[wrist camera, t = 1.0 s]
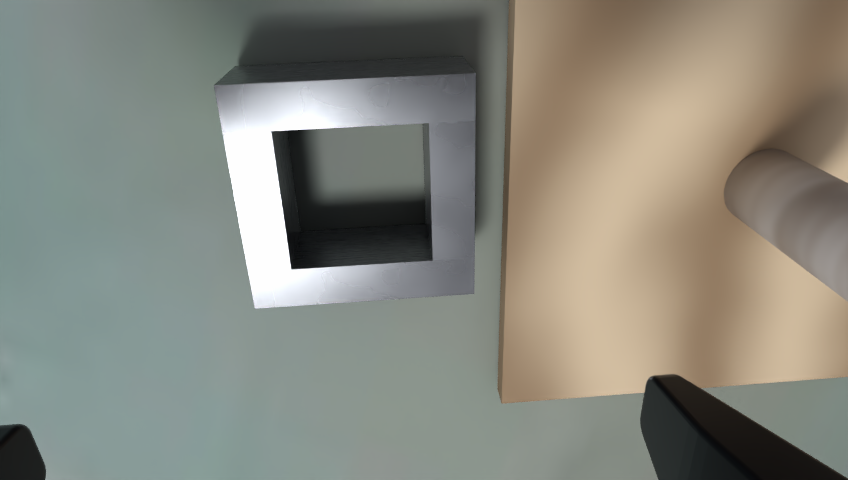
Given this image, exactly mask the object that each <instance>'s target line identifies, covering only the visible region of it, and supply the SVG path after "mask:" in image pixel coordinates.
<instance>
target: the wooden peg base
mask: <svg viewBox="0 0 848 480" xmlns="http://www.w3.org/2000/svg"><path fill="white" fill-rule="evenodd" d="M665 374H677V375H679V376H681V377H683V378H684V379H686V380H688V381H689V382H691V383H693V384H694V385H696V386H698V387H699V388H708V387H721V386H734V385H747V384H760V383H773V382H786V381H799V380H812V379H825V378H838V377H848V0H509V21H508V55H507V88H506V122H505V156H504V189H503V223H502V257H501V290H500V324H499V358H498V392H499V396H500V399H501V403H515V402H527V401H540V400H553V399H566V398H579V397H592V396H605V395H618V394H631V393H644V392H645V386H646V382H647V380H648V378H649V377H651V376H653V375H665Z"/></svg>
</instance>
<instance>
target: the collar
mask: <svg viewBox="0 0 848 480" xmlns="http://www.w3.org/2000/svg"><path fill="white" fill-rule="evenodd" d="M214 89H215V94H216V100H217V105H218V110H219V116H220V121H221V127H222V132H223V138H224V143H225V149H226V154H227V159H228V165H229V170H230V176H231V181H232V187H233V192H234V198H235V203H236V209H237V214H238V219H239V225H240V230H241V236H242V241H243V247H244V252H245V258H246V263H247V268H248V274H249V279H250V285H251V290H252V296H253V301H254V307H255V308H270V307H285V306H300V305H315V304H330V303H345V302H359V301H374V300H389V299H404V298H419V297H434V296H449V295H464V294H474V256H475V118H476V73H475V72H474V70H473V69H472V68H471V66H470V65H469V64H468V63H467V61H466V60H465V59H464V58H463V56H453V57H431V58H409V59H387V60H365V61H342V62H320V63H298V64H276V65H254V66H235V67H234V68H232V69H231V70H230V71H229V72H228V73H227V74H226V75H225V76H224V77H223V78H222V79H220V80H219V81H218V82H217V83H216V84H215V85H214ZM421 123H423V153H424V184H425V215H426V224H417V225H401V226H384V227H368V228H351V229H335V230H318V231H301V230H300V223H299V215H298V208H297V200H296V193H295V185H294V178H293V171H292V163H291V156H290V148H289V141H288V133H287V130H304V129H324V128H343V127H363V126H382V125H402V124H421Z"/></svg>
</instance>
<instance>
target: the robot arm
mask: <svg viewBox="0 0 848 480" xmlns="http://www.w3.org/2000/svg"><path fill="white" fill-rule="evenodd" d="M640 424H641V430H642V434H643V437H644V440H645V443H646V446H647V449H648V451H649V454H650V457H651V460H652V463H653V466H654V468H655V471H656V474H657V477H658V480H848V478H846V477H844V476H843V475H841V474H840V473H838V472H836V471H835V470H833V469H831V468H830V467H828V466H826V465H825V464H823V463H822V462H820V461H818V460H817V459H815V458H813V457H812V456H810V455H809V454H807V453H805V452H804V451H802V450H800V449H799V448H797V447H795V446H794V445H792V444H791V443H789V442H787V441H786V440H784V439H782V438H781V437H779V436H778V435H776V434H774V433H773V432H771V431H769V430H768V429H766V428H764V427H763V426H761V425H760V424H758V423H756V422H755V421H753V420H751V419H750V418H748V417H747V416H745V415H743V414H742V413H740V412H738V411H737V410H735V409H733V408H732V407H730V406H729V405H727V404H725V403H724V402H722V401H720V400H719V399H717V398H715V397H714V396H712V395H711V394H709V393H707V392H706V391H704V390H702V389H701V388H699V387H698V386H696V385H694V384H693V383H691V382H689V381H688V380H686V379H684V378H683V377H681V376H679V375H677V374H665V375H653V376H651V377H649V378H648V380H647V382H646V386H645V392H644V398H643V404H642V410H641V417H640ZM45 478H46V469H45V464H44V461H43V459H42V457H41V454H40V452H39V450H38V447H37V445H36V443H35V440H34V438H33V436H32V433H31V431H30V429H29V428H28V427H27V426H25V425H22V424H12V425H0V480H45Z"/></svg>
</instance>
